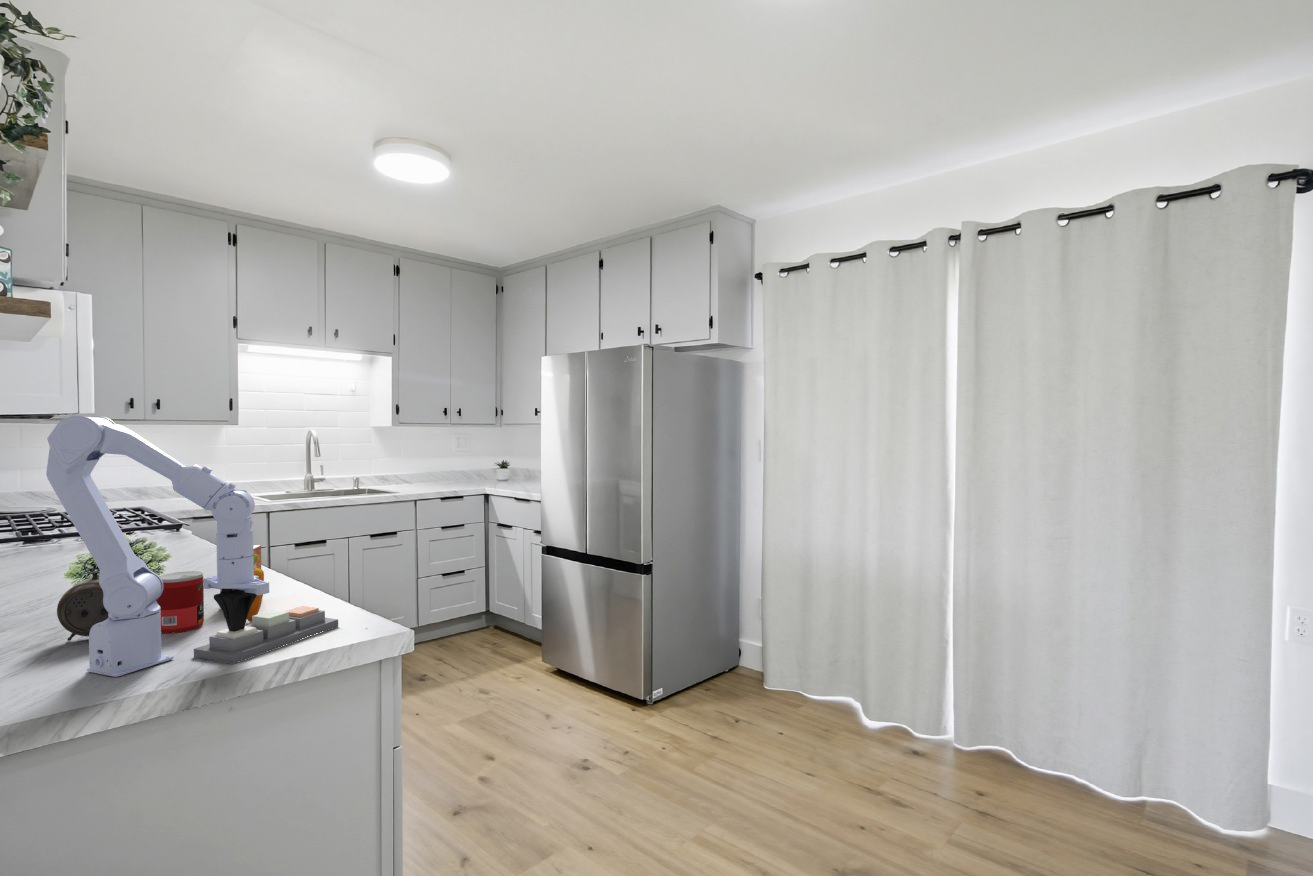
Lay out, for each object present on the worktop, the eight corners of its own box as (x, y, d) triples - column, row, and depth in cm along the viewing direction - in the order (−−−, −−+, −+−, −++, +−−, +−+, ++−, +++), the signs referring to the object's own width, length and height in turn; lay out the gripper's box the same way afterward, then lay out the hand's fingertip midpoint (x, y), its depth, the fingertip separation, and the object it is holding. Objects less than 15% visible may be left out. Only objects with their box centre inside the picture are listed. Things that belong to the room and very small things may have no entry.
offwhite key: (233, 645, 120) (233, 634, 120) (216, 642, 122) (216, 632, 122) (256, 638, 124) (256, 627, 124) (239, 635, 126) (239, 625, 126)
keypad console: (233, 664, 117) (232, 644, 117) (193, 657, 121) (193, 637, 121) (338, 626, 139) (338, 609, 139) (302, 621, 142) (302, 605, 142)
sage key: (268, 628, 127) (268, 618, 127) (252, 626, 128) (252, 616, 128) (289, 622, 131) (288, 612, 131) (272, 620, 133) (272, 610, 132)
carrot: (252, 626, 139) (250, 554, 139) (231, 624, 140) (230, 553, 140) (270, 619, 144) (269, 549, 144) (250, 618, 145) (249, 549, 145)
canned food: (208, 627, 139) (207, 574, 138) (161, 636, 133) (160, 581, 132) (198, 620, 144) (197, 569, 144) (152, 628, 138) (151, 575, 138)
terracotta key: (300, 623, 133) (300, 613, 133) (284, 621, 135) (284, 611, 135) (318, 617, 138) (318, 608, 137) (302, 615, 139) (302, 605, 139)
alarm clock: (134, 632, 136) (132, 552, 135) (125, 640, 131) (123, 557, 130) (65, 639, 131) (63, 557, 131) (53, 648, 126) (51, 562, 126)
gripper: (283, 555, 124) (284, 627, 124) (228, 550, 129) (229, 620, 129) (248, 562, 117) (249, 639, 118) (191, 557, 123) (193, 630, 123)
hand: (236, 630), depth 123 cm, fingers closed, pressing on offwhite key
